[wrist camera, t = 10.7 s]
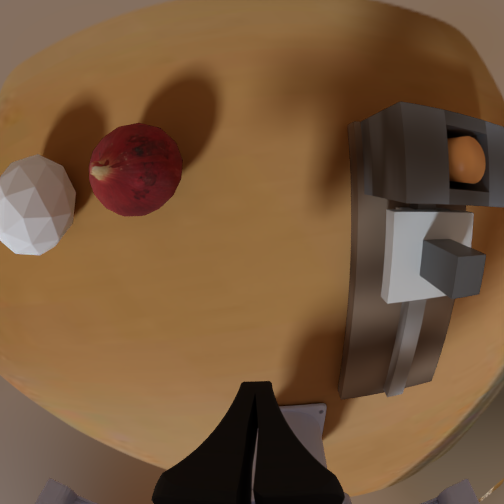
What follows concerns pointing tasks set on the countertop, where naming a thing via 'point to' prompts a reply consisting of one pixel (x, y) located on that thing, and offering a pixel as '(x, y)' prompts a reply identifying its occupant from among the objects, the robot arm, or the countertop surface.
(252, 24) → the countertop surface
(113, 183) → the onion
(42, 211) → the ball
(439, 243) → the carriage
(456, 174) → the brown egg
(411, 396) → the countertop surface
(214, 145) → the countertop surface
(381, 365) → the rail bed
